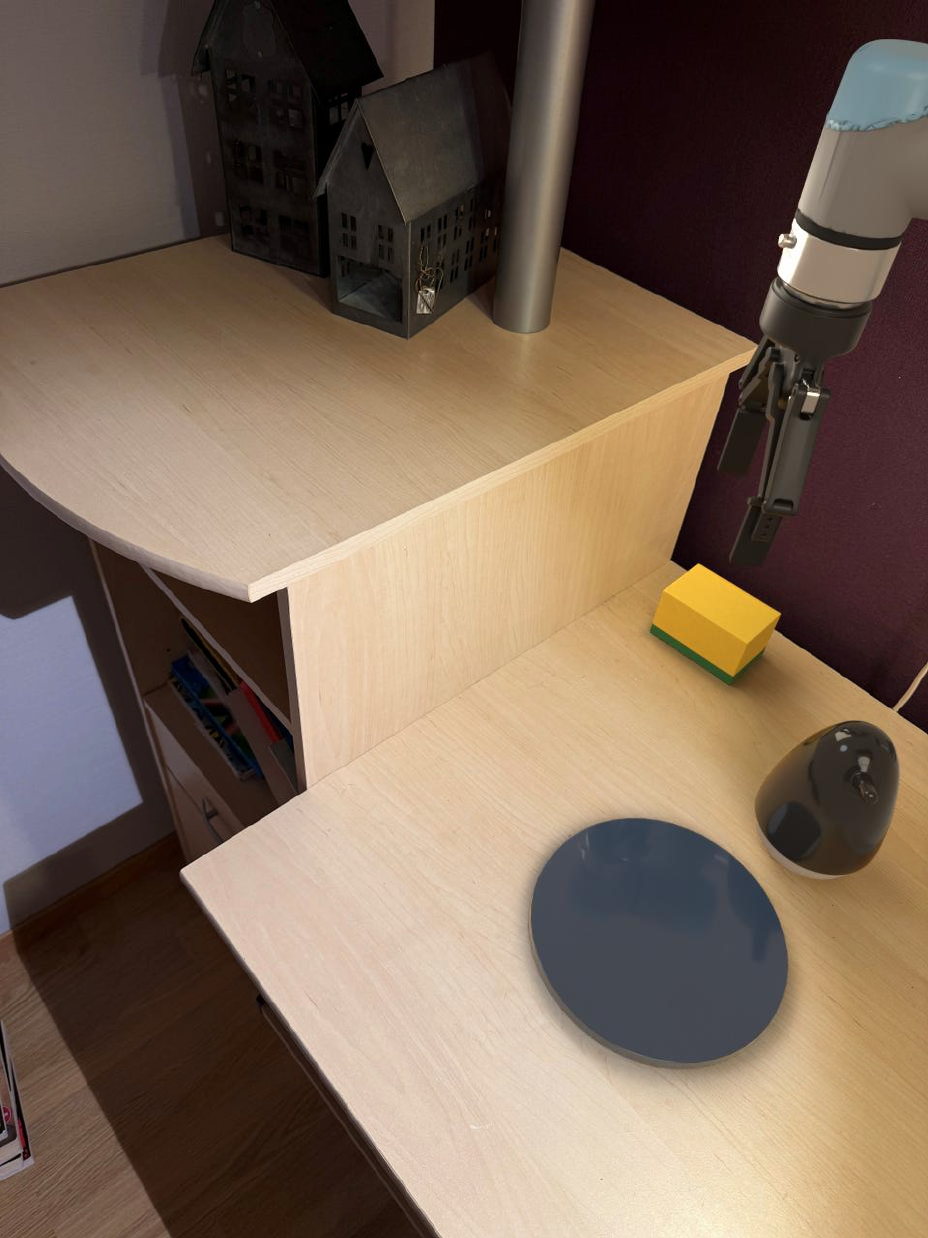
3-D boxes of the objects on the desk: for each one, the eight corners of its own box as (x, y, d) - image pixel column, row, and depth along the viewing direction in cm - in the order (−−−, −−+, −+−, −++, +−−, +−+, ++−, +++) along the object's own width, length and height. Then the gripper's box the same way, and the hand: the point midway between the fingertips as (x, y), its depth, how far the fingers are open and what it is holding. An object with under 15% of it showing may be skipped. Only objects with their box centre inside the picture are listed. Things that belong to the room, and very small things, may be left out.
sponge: (762, 654, 95) (781, 613, 91) (729, 685, 91) (747, 644, 87) (683, 604, 99) (698, 562, 95) (649, 631, 96) (663, 589, 92)
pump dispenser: (740, 882, 75) (804, 773, 65) (742, 783, 83) (800, 670, 72) (865, 915, 74) (951, 809, 64) (855, 811, 81) (932, 701, 71)
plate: (752, 832, 79) (756, 825, 78) (812, 1076, 64) (818, 1070, 64) (524, 818, 78) (526, 810, 77) (533, 1062, 63) (536, 1056, 63)
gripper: (756, 218, 76) (689, 433, 91) (797, 360, 58) (705, 599, 73) (845, 230, 76) (763, 444, 91) (913, 377, 58) (798, 614, 73)
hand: (737, 514), depth 82 cm, fingers open, 13 cm apart
